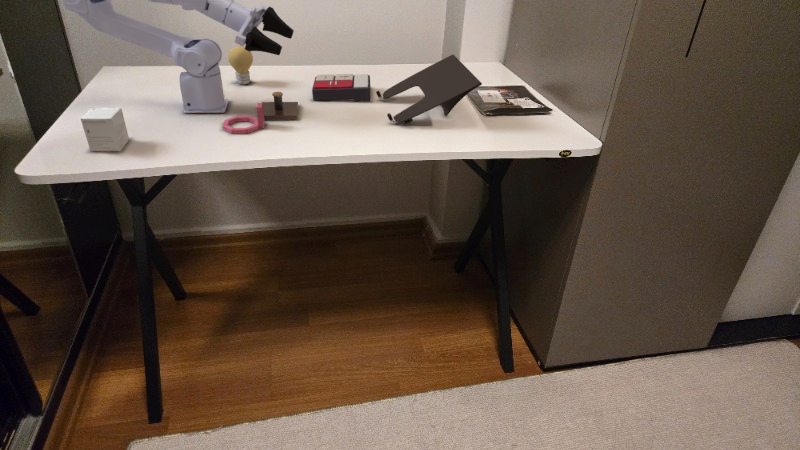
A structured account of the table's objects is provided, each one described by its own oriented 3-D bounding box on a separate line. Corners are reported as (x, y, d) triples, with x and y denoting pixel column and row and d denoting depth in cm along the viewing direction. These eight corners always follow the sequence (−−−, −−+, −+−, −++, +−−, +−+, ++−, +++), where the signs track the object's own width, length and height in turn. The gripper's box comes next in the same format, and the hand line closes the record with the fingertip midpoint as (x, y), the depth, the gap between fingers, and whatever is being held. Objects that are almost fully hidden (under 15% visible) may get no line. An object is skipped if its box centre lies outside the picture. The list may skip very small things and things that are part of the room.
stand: (258, 120, 125) (256, 100, 122) (262, 106, 133) (260, 87, 130) (297, 120, 126) (295, 100, 124) (298, 106, 134) (297, 87, 131)
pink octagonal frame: (221, 134, 118) (218, 112, 115) (226, 120, 125) (223, 98, 122) (263, 133, 119) (260, 111, 116) (265, 119, 126) (263, 98, 123)
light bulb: (260, 82, 147) (256, 46, 141) (243, 88, 142) (238, 51, 137) (244, 77, 150) (239, 42, 144) (226, 83, 145) (221, 46, 140)
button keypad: (315, 73, 144) (369, 72, 145) (316, 88, 147) (370, 87, 147) (311, 87, 135) (369, 85, 136) (313, 103, 137) (370, 101, 138)
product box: (89, 151, 108) (79, 118, 104) (100, 139, 113) (90, 106, 109) (120, 151, 109) (111, 118, 105) (130, 139, 114) (121, 106, 110)
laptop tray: (387, 115, 146) (373, 87, 141) (462, 77, 144) (450, 46, 139) (405, 151, 128) (389, 120, 122) (490, 108, 126) (479, 74, 120)
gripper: (218, 13, 110) (279, 44, 112) (246, -16, 119) (301, 13, 122) (213, 40, 115) (271, 69, 117) (240, 10, 124) (293, 38, 127)
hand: (286, 42), depth 120 cm, fingers open, 7 cm apart
